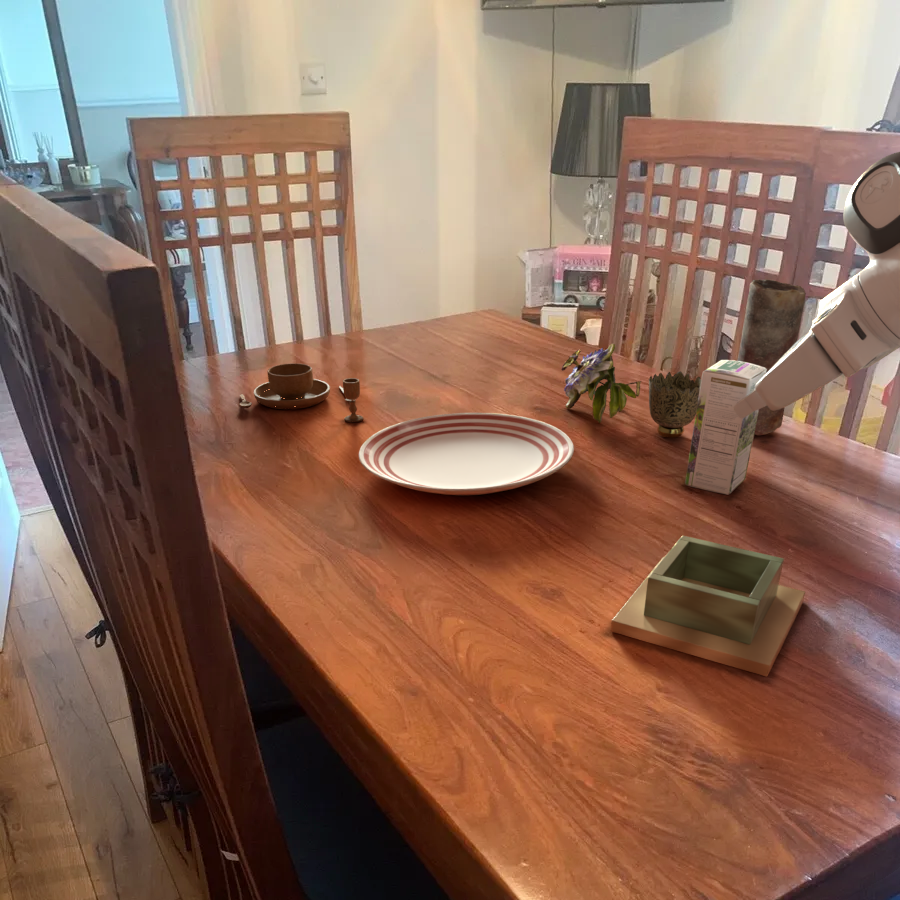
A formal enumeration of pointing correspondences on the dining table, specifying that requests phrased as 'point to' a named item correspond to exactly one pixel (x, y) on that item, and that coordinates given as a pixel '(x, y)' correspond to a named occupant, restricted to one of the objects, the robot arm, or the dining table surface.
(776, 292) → the tall brown vase
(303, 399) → the place setting
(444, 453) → the dinner plate
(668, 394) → the cup
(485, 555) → the dining table surface
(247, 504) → the dining table surface
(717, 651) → the socket pad
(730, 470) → the syrup box
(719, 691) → the dining table surface
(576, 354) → the passion flower
